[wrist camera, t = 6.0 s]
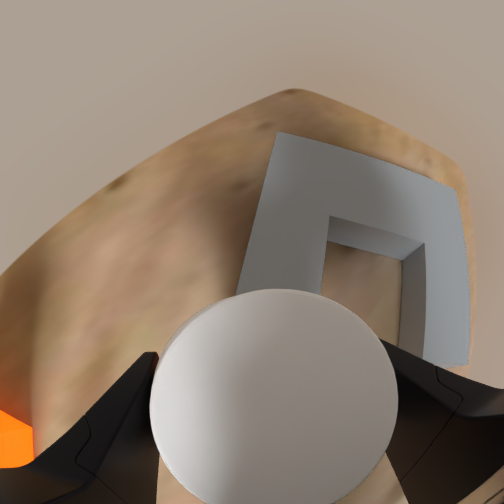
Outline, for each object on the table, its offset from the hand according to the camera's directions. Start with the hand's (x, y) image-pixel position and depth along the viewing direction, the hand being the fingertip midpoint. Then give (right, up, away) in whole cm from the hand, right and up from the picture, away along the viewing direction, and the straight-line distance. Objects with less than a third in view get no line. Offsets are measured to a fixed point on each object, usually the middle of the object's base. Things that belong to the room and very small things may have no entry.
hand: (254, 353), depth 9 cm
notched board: (+10, +3, +16) cm, 19 cm away
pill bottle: (0, -4, +6) cm, 7 cm away
